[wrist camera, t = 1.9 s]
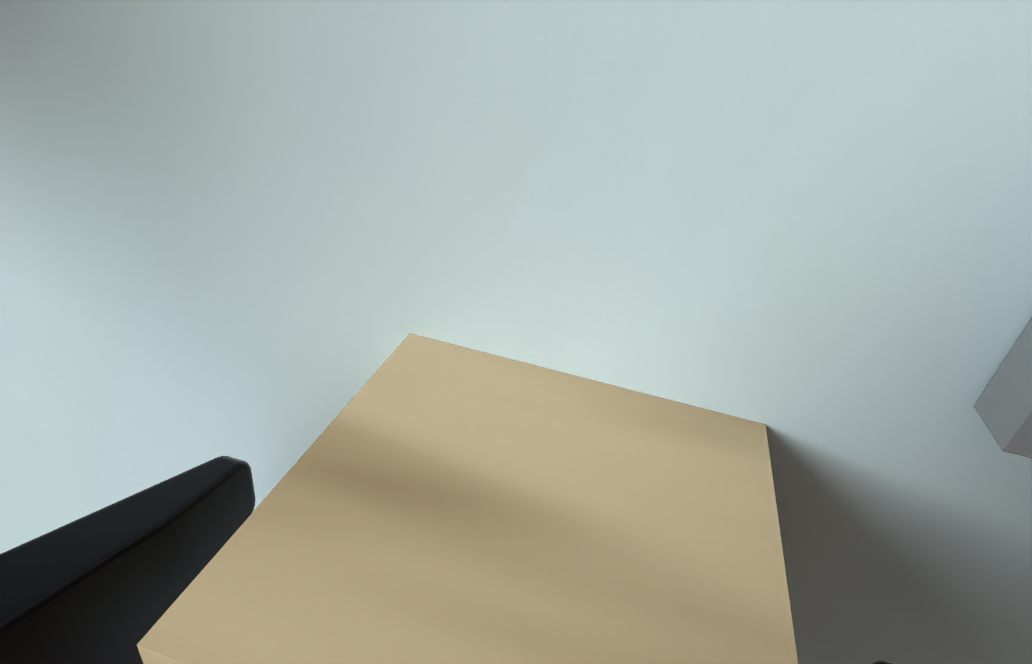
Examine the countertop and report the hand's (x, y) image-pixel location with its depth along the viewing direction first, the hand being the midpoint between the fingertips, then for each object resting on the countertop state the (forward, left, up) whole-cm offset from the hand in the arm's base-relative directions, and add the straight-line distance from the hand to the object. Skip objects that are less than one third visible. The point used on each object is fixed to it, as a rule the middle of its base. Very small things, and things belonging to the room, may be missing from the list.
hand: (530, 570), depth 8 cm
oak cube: (0, 0, -1) cm, 1 cm away
